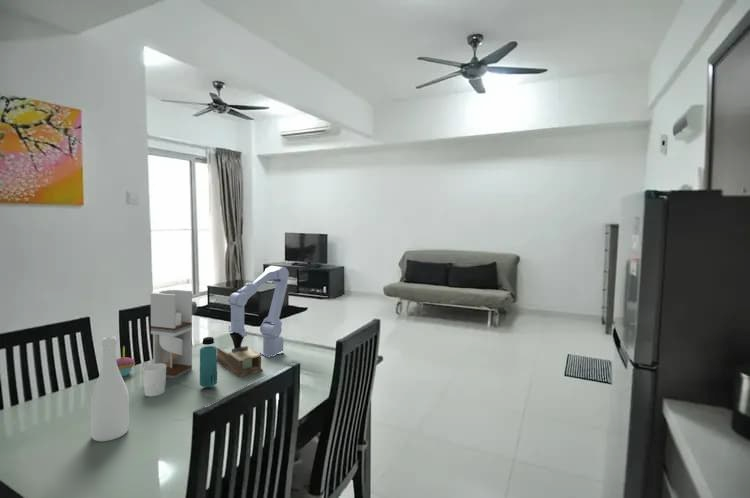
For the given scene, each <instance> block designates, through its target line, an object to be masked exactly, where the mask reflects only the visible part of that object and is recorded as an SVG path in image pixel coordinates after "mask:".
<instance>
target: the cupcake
mask: <svg viewBox="0 0 750 498" xmlns="http://www.w3.org/2000/svg"><path fill="white" fill-rule="evenodd" d="M125 348H126V347H125V346H123V347H122V357H118V358H116V362H117V366H118V369H119V371H120V374H121V376H122V377H126V376H129V375H130V374H131V371H132V368H133V367H134V366H135V365H136V362H135V359H133V358H132V357H126V353H125V351H126V350H125Z"/></svg>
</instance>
